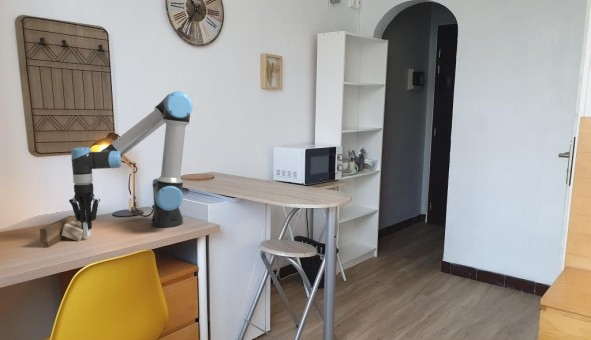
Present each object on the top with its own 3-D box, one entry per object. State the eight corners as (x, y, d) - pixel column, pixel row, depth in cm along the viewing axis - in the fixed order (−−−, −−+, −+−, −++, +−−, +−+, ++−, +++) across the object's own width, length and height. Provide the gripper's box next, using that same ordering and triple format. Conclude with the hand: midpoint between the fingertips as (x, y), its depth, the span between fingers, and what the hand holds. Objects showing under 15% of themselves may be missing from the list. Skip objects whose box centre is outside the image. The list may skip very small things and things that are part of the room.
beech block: (86, 237, 193) (89, 227, 193) (78, 241, 187) (81, 231, 187) (69, 231, 194) (72, 221, 193) (61, 235, 188) (64, 224, 187)
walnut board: (77, 232, 201) (76, 215, 200) (48, 247, 180) (46, 228, 179) (71, 232, 202) (69, 215, 201) (41, 247, 180) (39, 228, 179)
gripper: (102, 181, 190) (106, 234, 193) (73, 181, 190) (77, 233, 194) (93, 184, 182) (97, 239, 185) (63, 184, 183) (68, 238, 186)
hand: (87, 236), depth 190 cm, fingers closed
